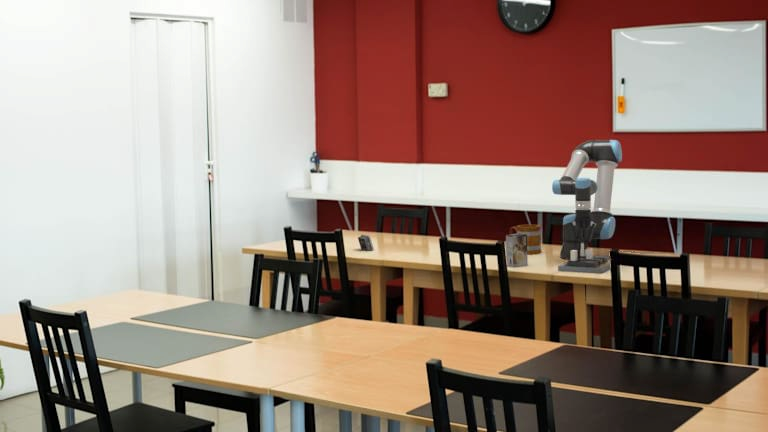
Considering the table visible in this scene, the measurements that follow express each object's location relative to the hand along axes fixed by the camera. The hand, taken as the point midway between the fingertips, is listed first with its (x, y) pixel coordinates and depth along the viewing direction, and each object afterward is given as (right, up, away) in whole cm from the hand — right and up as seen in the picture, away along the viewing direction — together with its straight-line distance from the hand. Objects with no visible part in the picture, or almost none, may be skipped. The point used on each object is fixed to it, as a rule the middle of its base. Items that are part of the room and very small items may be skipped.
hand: (583, 255), depth 511 cm
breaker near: (-6, -2, -6) cm, 8 cm away
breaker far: (+2, 0, +8) cm, 9 cm away
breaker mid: (+3, -1, -1) cm, 3 cm away
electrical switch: (-110, 0, +79) cm, 135 cm away
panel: (+2, -6, 0) cm, 6 cm away
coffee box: (-31, -6, +13) cm, 35 cm away
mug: (-22, 0, +54) cm, 59 cm away
